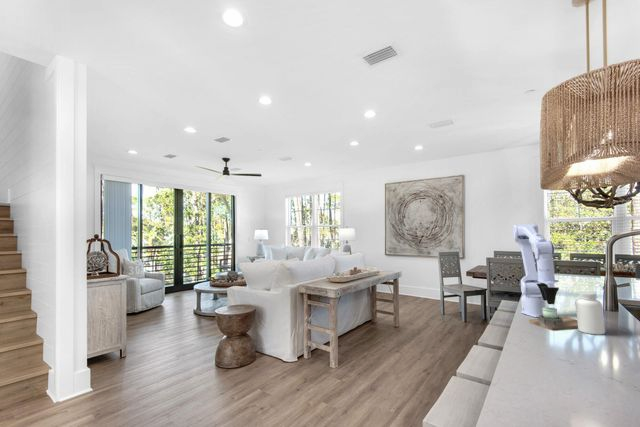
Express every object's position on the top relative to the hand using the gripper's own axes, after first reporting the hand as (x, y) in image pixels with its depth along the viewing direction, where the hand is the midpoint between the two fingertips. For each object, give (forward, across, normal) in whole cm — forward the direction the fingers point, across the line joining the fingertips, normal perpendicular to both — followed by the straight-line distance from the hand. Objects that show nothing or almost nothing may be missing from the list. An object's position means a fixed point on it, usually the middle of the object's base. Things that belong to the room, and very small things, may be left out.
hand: (548, 302), depth 131 cm
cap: (+7, 0, 0) cm, 7 cm away
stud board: (+10, +3, -4) cm, 11 cm away
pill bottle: (+10, -5, -12) cm, 16 cm away
